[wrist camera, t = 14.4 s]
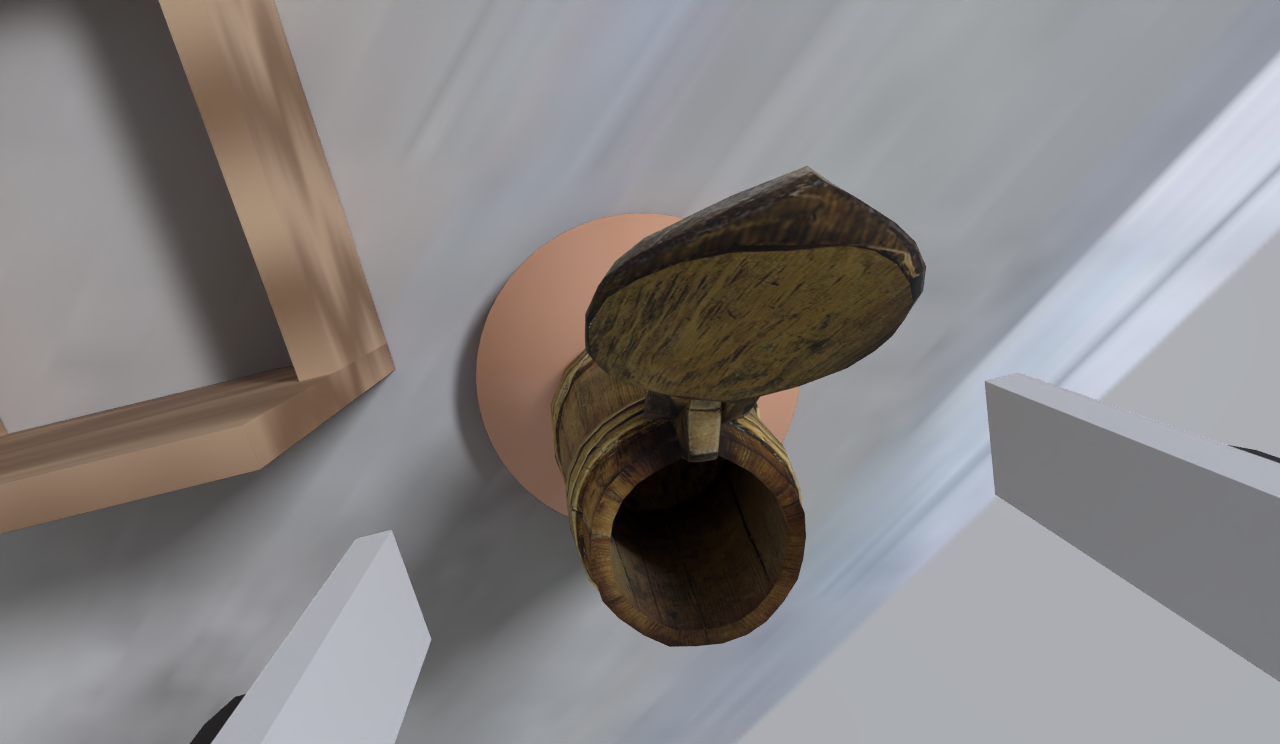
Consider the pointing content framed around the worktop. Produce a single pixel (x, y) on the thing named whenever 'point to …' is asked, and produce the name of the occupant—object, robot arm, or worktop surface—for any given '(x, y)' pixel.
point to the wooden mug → (716, 398)
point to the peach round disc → (559, 347)
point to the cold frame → (290, 271)
